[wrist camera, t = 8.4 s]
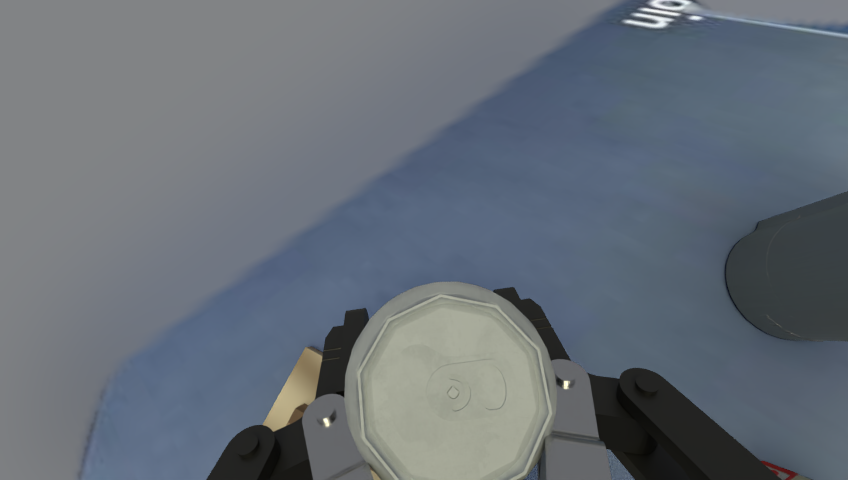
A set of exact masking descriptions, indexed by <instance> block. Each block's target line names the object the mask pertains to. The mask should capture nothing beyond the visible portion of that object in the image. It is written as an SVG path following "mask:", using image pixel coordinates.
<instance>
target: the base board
mask: <svg viewBox="0 0 848 480" xmlns="http://www.w3.org/2000/svg"><path fill="white" fill-rule="evenodd" d="M322 356H323V353H322V352H321V351H319V350H317V349H315V348H313V347H305V349H304V351H303V353H302V355H301V356H300V358H299V360H298V362H297V364H296V365H295V367H294V369H293V371H292V373H291V374H290V376H289V378H288V380H287V382H286V383H285V385H284V387H283V389H282V391H281V392H280V394H279V396H278V398H277V400H276V401H275V403H274V405H273V407H272V409H271V410H270V412H269V414H268V416H267V418H266V419H265V421H264V423H263V425H264V426H267V427H269V428H270V429H271V430H272V431H273V432H274V431H276V430H278V429H280V428H283V427H285V426H287V425H289V424H291V423H293V422H295V421H297V420H298V419H300V418H301V417H302V416H303V414H304V412H305V410H306V408H307V407H308V406H309V405H310V404H311V403H312V402H313V401H314V400H315V396H316V390H317V384H318V379H319V373H320V367H321V362H322ZM369 467H370V466H369ZM370 470H371V473H372V476H373V479H374V480H381V479H380V478H379V477H378V476H377V474H376V473H375V472H374V471H373V470H372V468H371V467H370Z"/></svg>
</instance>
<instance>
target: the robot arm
mask: <svg viewBox="0 0 848 480" xmlns="http://www.w3.org/2000/svg"><path fill="white" fill-rule="evenodd" d="M726 279H727V286H728V289H729V292H730V295H731V297H732V299H733V301H734V303H735V304H736V306H737V308H738V309H739V310H740V312H741V313H742V314H743V315H744V316H745V317H746V319H747V320H749V321H750V322H751V323H752V324H753V325H755V326H756V327H757V328H759V329H761V330H762V331H764V332H766V333H768V334H770V335H773V336H775V337H778V338H781V339H788V340H803V341H848V191H847V192H844V193H841V194H839V195H836V196H833V197H830V198H827V199H824V200H821V201H818V202H815V203H812V204H809V205H806V206H803V207H800V208H797V209H794V210H792V211H789V212H786V213H783V214H780V215H777V216H774V217H771V218H768V219H765V220H762V221H760V222H759V223H758V227H757V229H756V231H754V232H753V233H751V234H749V235H747V236H746V237H744V238H742V239H741V240H740V241H739V242H738V243H737V244H736V245H735V246H734V248H733V249H732V251H731V253H730V255H729V258H728V261H727V266H726ZM493 292H494V293H496V294H498V295H499V296H501V297H503V298H504V299H506V300H508V301H509V302H511V303H512V304H513V305H514V306H515V307H516V308H517V309H518V310H519V311H520V312H521V313H522V314H523V315H524V316H525V317H526V318H527V319H528V320H529V321H530V322H531V323H532V324H533V326H534V327H535V329H536V330H537V332H538V334H539V336H540V337H541V339H542V341H543V343H544V344H545V346H546V348H547V351H548V354H549V357H550V360H551V363H552V367H553V370H554V373H555V380H556V390H557V405H556V414H555V420H554V426H553V429H552V432H551V434H550V435H548V436H546V437H545V447H544V451H543V453H542V455H541V458H540V460H539V461H538V462H537V467H538V480H612V479H611V473H610V468H609V462H608V456H607V451H606V449H610V450H611V451H612V452H613V453H614V455H615V456H616V457H617V458H618V459H619V461H620V462H621V463H622V464H623V465H624V467H625V468H626V469H627V470H628V472H629V473H630V474H631V475H632V476H633V478H634V479H635V480H782V479H781V478H779V477H778V476H777V475H776V474H775V473H774V472H772V471H771V470H770V469H769V468H768V467H767V466H765V465H764V464H763V463H762V462H761V461H760V460H758V459H757V458H756V457H755V456H754V455H753V454H751V453H750V452H749V451H748V450H747V449H746V448H744V447H743V446H742V445H741V444H740V443H739V442H737V441H736V440H735V439H734V438H733V437H732V436H730V435H729V434H728V433H727V432H726V431H725V430H724V429H722V428H721V427H720V426H719V425H718V424H717V423H715V422H714V421H713V420H712V419H711V418H710V417H708V416H707V415H706V414H705V413H704V412H703V411H701V410H700V409H699V408H698V407H697V406H696V405H694V404H693V403H692V402H691V401H690V400H689V399H687V398H686V397H685V396H684V395H683V394H682V393H680V392H679V391H678V390H677V389H676V388H675V387H673V386H672V385H671V384H670V383H669V382H668V381H666V380H665V379H664V378H663V377H661V376H660V375H658V374H657V373H655V372H653V371H650V370H647V369H642V368H631V369H628V370H626V371H624V372H623V373H622V374H621V376H620V379H617V378H609V377H601V376H595V375H592V374H589V373H587V372H586V371H585V370H584V369H583V368H582V367H581V366H580V365H578V364H576V363H575V362H572V361H571V360H570V358H569V356H568V355H567V353H566V351H565V349H564V348H563V346H562V344H561V342H560V341H559V339H558V337H557V335H556V333H555V332H554V330H553V328H551V325H550V323H549V321H548V319H547V318H546V316H545V314H544V312H543V310H542V309H541V307H540V306H539V305H538V304H536V303H535V302H534V301H532V300H531V299H524V300H520V298H519V296H518V294H517V292H516V290H515V288H514V287H510V288H503V289H497V290H494V291H493ZM368 321H369V317H368V313H367V310H366V308H363V309H356V310H350V311H346V313H345V320H344V326H337V327H333V328H332V329H331V331H330V332H329V334H328V335H327V337H326V339H325V345H324V352H323V356H322V362H321V367H320V373H319V379H318V384H317V390H316V396H315V400H314V401H313V402H312V403H311V404H310V405H309V406H308V407H307V408H306V410H305V412H304V414H303V416H302V417H301V418H300V419H298V420H297V421H295V422H293V423H291V424H289V425H287V426H285V427H283V428H280V429H278V430H276V431H274V432H273V431H272V430H271V429H270V428H269V427H267V426H264V425H255V426H251V427H249V428H246V429H244V430H243V431H241V432H240V433H238V434H237V435H236V436H235V437H234V438H233V439H232V440H231V441H230V442H229V444H228V445H227V447H226V448H225V450H224V452H223V453H222V455H221V457H220V458H219V460H218V462H217V463H216V465H215V467H214V468H213V470H212V471H211V473H210V475H209V476H208V478H207V480H374V479H373V476H372V473H371V470H370V467H369V464H368V463H367V462H366V461H365V460H364V458H363V457H362V455H361V454H360V452H359V450H358V448H357V446H356V443H355V441H354V439H353V436H352V434H351V431H350V429H349V425H348V420H347V414H346V408H345V402H344V395H345V374H346V370H347V366H348V363H349V359H350V356H351V352H352V349H353V347H354V344H355V342H356V340H357V339H358V337H359V335H360V334H361V332H362V331H363V329H364V328H365V326H366V325H367V323H368Z"/></svg>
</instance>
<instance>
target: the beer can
mask: <svg viewBox="0 0 848 480" xmlns="http://www.w3.org/2000/svg"><path fill="white" fill-rule="evenodd" d="M344 402H345V408H346V414H347V420H348V425H349V429H350V431H351V434H352V436H353V439H354V441H355V443H356V446H357V448H358V450H359V452H360V454H361V455H362V457H363V458H364V460H365V461H366V462H367V463H368V464H369V466H370V467H371V468H372V470H373V471H374V472H375V473H376V474H377V476H378V477H379V478H380V479H381V480H523V479H524V478H525V477H526V476H527V475H528V474H529V473H530V472H531V470H532V469H533V468H534V466H535V465H536V464H537V462H538V461H539V460H540V458H541V455H542V453H543V451H544V447H545V437H546V436H548V435H550V434H551V432H552V429H553V426H554V420H555V414H556V405H557V390H556V380H555V373H554V370H553V367H552V363H551V360H550V357H549V354H548V351H547V348H546V346H545V344H544V343H543V341H542V339H541V337H540V336H539V334H538V332H537V330H536V329H535V327H534V326H533V324H532V323H531V322H530V321H529V320H528V319H527V318H526V317H525V316H524V315H523V314H522V313H521V312H520V311H519V310H518V309H517V308H516V307H515V306H514V305H513V304H512V303H511V302H509V301H508V300H506V299H504V298H503V297H501V296H499V295H498V294H496V293H494V292H492V291H490V290H488V289H485V288H483V287H480V286H477V285H472V284H467V283H462V282H435V283H430V284H426V285H422V286H417V287H414V288H412V289H410V290H408V291H406V292H404V293H402V294H399V295H397V296H396V297H394V298H393V299H391V300H390V301H389V302H387V303H386V304H385V305H384V306H383V307H381V308H380V309H379V310H378V311H377V312H376V313H375V314H374V315H373V316H372V317H371V318H370V320H369V321H368V323H367V325H366V326H365V328H364V329H363V331H362V332H361V334H360V335H359V337H358V339H357V340H356V342H355V344H354V347H353V349H352V352H351V356H350V359H349V363H348V366H347V370H346V374H345V395H344Z"/></svg>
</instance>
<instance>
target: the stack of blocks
mask: <svg viewBox="0 0 848 480" xmlns="http://www.w3.org/2000/svg"><path fill="white" fill-rule="evenodd" d="M761 462H762V463H763V464H764V465H765V466H767V467H768V468H769V469H770V470H771V471H772V472H774V473H775V474H776V475H777V476H778V477H779V478H781V479H782V480H812V479H810V478H807V477H804V476H801V475H799V474H797V473H795V472H793V471H790V470H787V469H784V468H781V467H778V466H776V465H773V464H771V463H768V462H766V461H761Z"/></svg>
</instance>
